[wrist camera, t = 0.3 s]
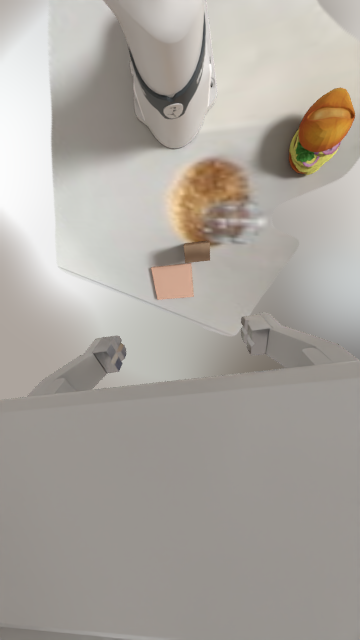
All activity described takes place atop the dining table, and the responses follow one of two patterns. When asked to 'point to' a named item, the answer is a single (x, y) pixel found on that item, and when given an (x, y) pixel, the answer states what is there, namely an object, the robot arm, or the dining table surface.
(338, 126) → the cheeseburger
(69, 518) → the robot arm
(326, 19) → the dining table surface
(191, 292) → the mat
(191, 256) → the card box
